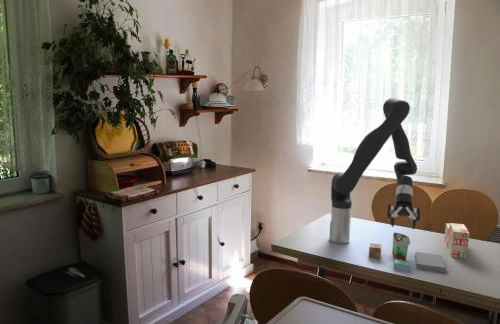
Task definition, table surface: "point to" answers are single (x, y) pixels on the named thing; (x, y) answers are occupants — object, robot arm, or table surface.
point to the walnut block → (375, 251)
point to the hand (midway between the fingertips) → (402, 227)
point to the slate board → (430, 262)
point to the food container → (400, 246)
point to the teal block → (401, 265)
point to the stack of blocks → (456, 240)
